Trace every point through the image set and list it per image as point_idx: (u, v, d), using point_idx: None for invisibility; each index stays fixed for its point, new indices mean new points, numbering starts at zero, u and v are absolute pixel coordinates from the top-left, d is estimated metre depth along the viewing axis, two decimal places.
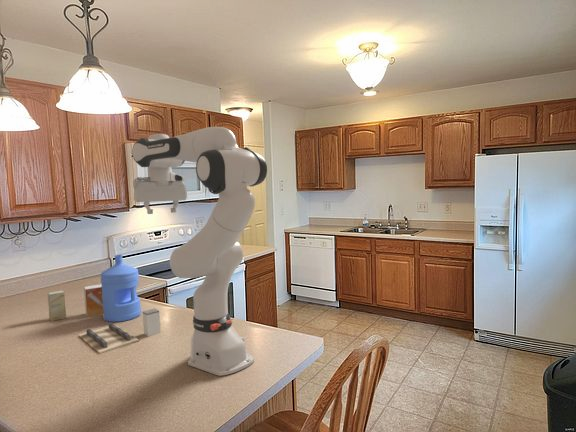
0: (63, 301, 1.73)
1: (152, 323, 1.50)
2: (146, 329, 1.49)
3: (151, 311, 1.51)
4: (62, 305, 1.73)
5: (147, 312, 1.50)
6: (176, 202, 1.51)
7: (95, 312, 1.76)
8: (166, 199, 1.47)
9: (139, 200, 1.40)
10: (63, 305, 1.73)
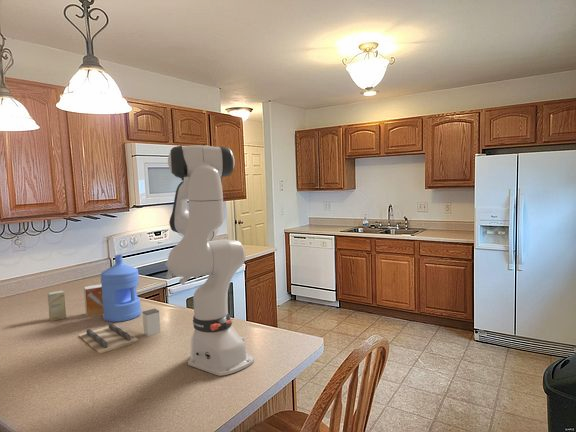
0: (63, 301, 1.73)
1: (152, 323, 1.50)
2: (146, 329, 1.49)
3: (151, 311, 1.51)
4: (62, 305, 1.73)
5: (147, 312, 1.50)
6: None
7: (95, 312, 1.76)
8: None
9: None
10: (63, 305, 1.73)
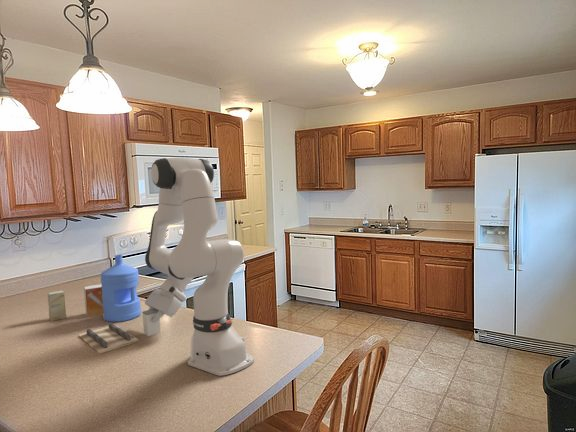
0: (63, 301, 1.73)
1: (152, 323, 1.50)
2: (146, 329, 1.49)
3: (151, 311, 1.51)
4: (62, 305, 1.73)
5: (147, 312, 1.50)
6: (158, 312, 1.50)
7: (95, 312, 1.76)
8: (156, 307, 1.51)
9: (145, 302, 1.59)
10: (63, 305, 1.73)
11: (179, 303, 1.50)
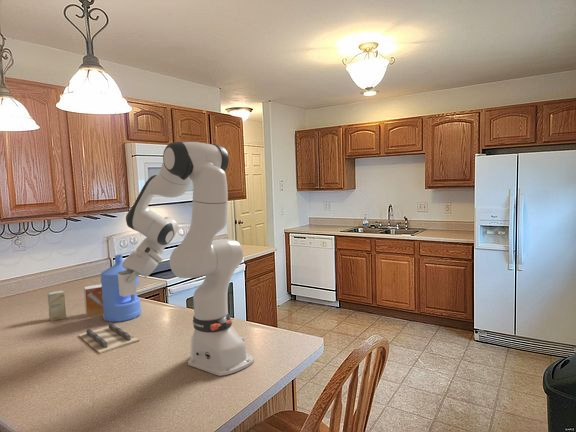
0: (63, 301, 1.73)
1: (127, 283, 1.47)
2: (121, 289, 1.46)
3: (126, 271, 1.48)
4: (62, 305, 1.73)
5: (122, 272, 1.47)
6: (133, 272, 1.47)
7: (95, 312, 1.76)
8: (131, 267, 1.49)
9: None
10: (63, 305, 1.73)
11: (155, 264, 1.46)
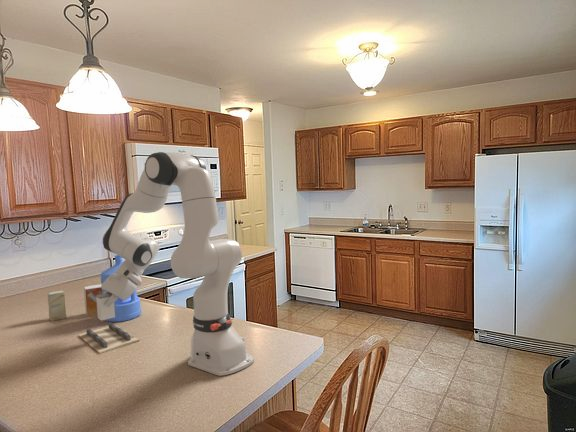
0: (63, 301, 1.73)
1: (106, 306, 1.45)
2: (100, 313, 1.45)
3: (105, 295, 1.46)
4: (62, 305, 1.73)
5: (100, 296, 1.45)
6: (112, 296, 1.45)
7: (95, 312, 1.76)
8: (110, 290, 1.47)
9: (101, 286, 1.54)
10: (63, 305, 1.73)
11: (134, 287, 1.45)
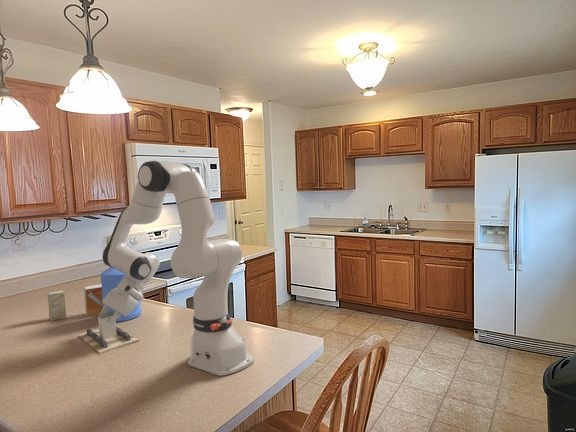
0: (63, 301, 1.73)
1: (107, 326, 1.46)
2: (101, 333, 1.45)
3: (107, 314, 1.47)
4: (62, 305, 1.73)
5: (102, 315, 1.46)
6: (115, 312, 1.44)
7: (95, 312, 1.76)
8: (111, 306, 1.47)
9: (102, 301, 1.55)
10: (63, 305, 1.73)
11: (135, 302, 1.45)
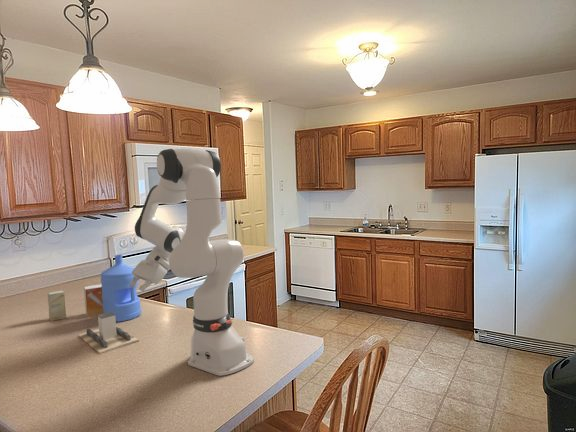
0: (63, 301, 1.73)
1: (107, 326, 1.46)
2: (101, 333, 1.45)
3: (107, 314, 1.47)
4: (62, 305, 1.73)
5: (102, 315, 1.46)
6: (146, 280, 1.52)
7: (95, 312, 1.76)
8: (142, 275, 1.55)
9: None
10: (63, 305, 1.73)
11: (164, 271, 1.53)
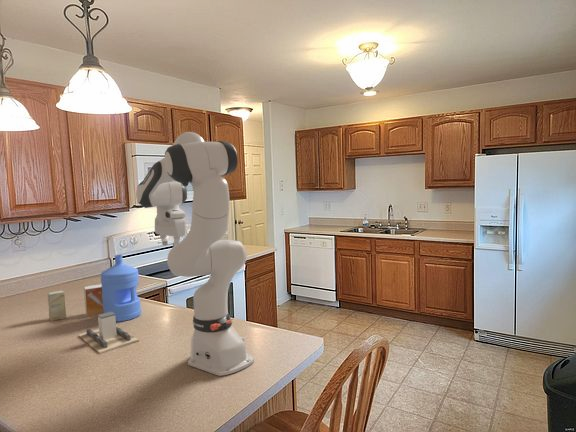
0: (63, 301, 1.73)
1: (107, 326, 1.46)
2: (101, 333, 1.45)
3: (107, 314, 1.47)
4: (62, 305, 1.73)
5: (102, 315, 1.46)
6: (174, 238, 1.53)
7: (95, 312, 1.76)
8: (166, 234, 1.56)
9: (155, 232, 1.63)
10: (63, 305, 1.73)
11: (182, 221, 1.52)
